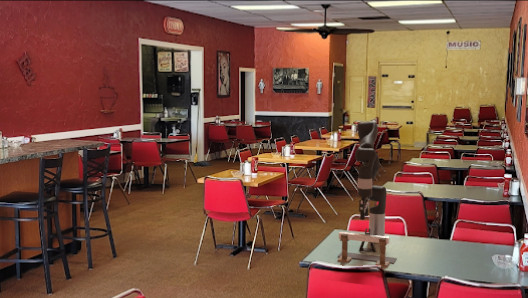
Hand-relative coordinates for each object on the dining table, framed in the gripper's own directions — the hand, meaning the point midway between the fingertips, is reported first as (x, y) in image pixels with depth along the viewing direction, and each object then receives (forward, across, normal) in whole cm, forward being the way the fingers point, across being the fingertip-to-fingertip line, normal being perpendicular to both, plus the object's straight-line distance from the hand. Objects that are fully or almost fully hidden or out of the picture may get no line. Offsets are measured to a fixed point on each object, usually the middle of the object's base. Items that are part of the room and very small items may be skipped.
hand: (364, 217), depth 295 cm
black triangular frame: (+24, -24, -3) cm, 34 cm away
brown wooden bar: (+12, 0, 0) cm, 12 cm away
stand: (+24, 0, 0) cm, 24 cm away
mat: (+24, -9, 0) cm, 26 cm away
